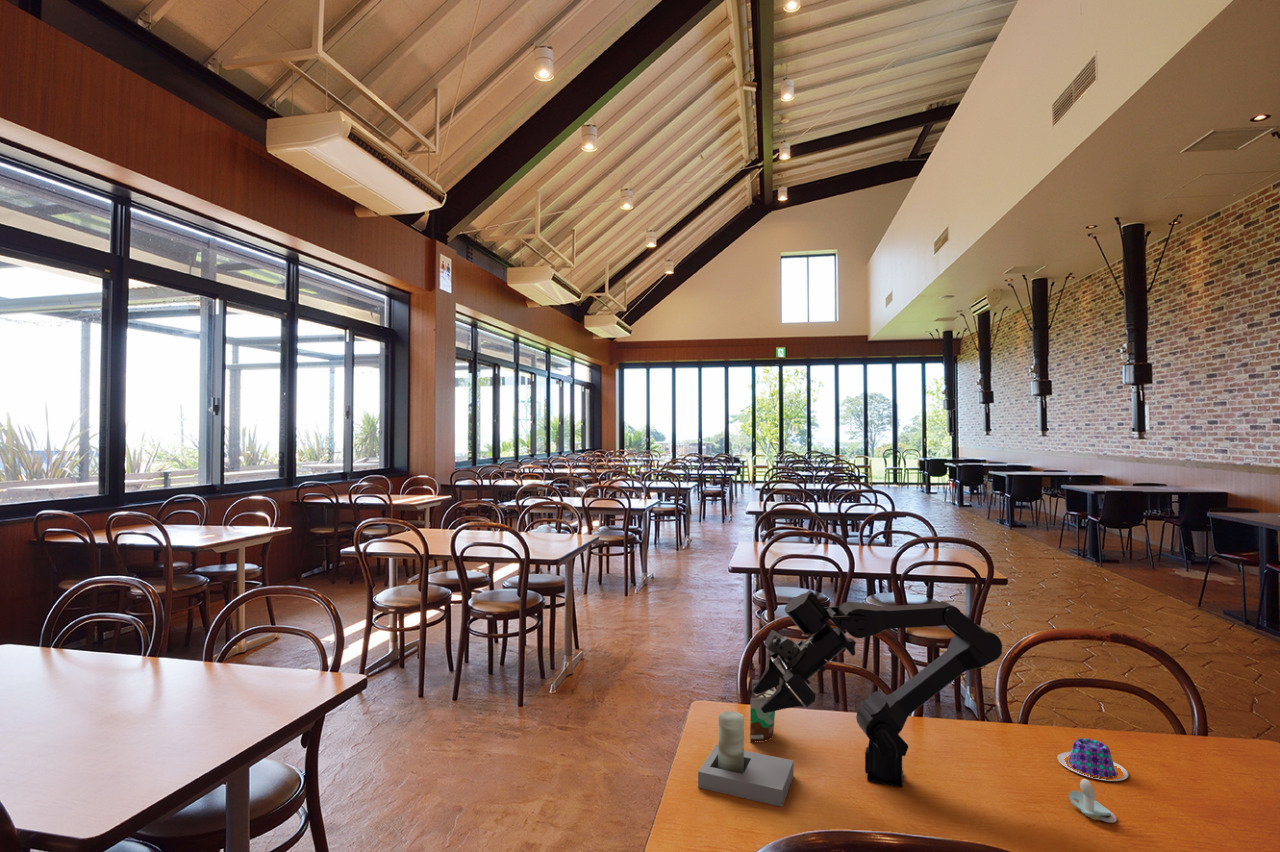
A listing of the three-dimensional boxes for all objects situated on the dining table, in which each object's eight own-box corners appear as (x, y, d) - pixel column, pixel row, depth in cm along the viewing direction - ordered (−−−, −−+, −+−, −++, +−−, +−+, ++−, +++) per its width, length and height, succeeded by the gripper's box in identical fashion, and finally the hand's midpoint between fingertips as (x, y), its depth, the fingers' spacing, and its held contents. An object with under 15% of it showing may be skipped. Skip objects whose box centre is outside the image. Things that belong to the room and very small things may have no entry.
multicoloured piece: (1120, 763, 136) (1120, 737, 136) (1135, 790, 126) (1135, 763, 126) (1053, 750, 142) (1053, 726, 142) (1062, 775, 131) (1062, 749, 131)
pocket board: (793, 775, 129) (793, 760, 129) (782, 806, 118) (782, 790, 118) (715, 759, 135) (715, 744, 135) (698, 787, 124) (698, 771, 124)
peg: (746, 774, 129) (746, 713, 129) (739, 787, 124) (740, 723, 125) (721, 769, 131) (722, 709, 131) (714, 781, 126) (715, 719, 127)
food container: (778, 748, 140) (779, 701, 141) (750, 745, 142) (750, 699, 142) (778, 724, 152) (778, 681, 153) (751, 721, 154) (752, 679, 154)
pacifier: (1095, 804, 120) (1063, 803, 120) (1096, 770, 121) (1064, 769, 120) (1126, 827, 113) (1092, 826, 113) (1127, 791, 113) (1093, 790, 113)
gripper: (781, 607, 139) (726, 654, 139) (803, 633, 120) (738, 688, 120) (815, 647, 139) (759, 695, 138) (842, 679, 120) (777, 734, 120)
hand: (758, 701), depth 129 cm, fingers open, 9 cm apart
